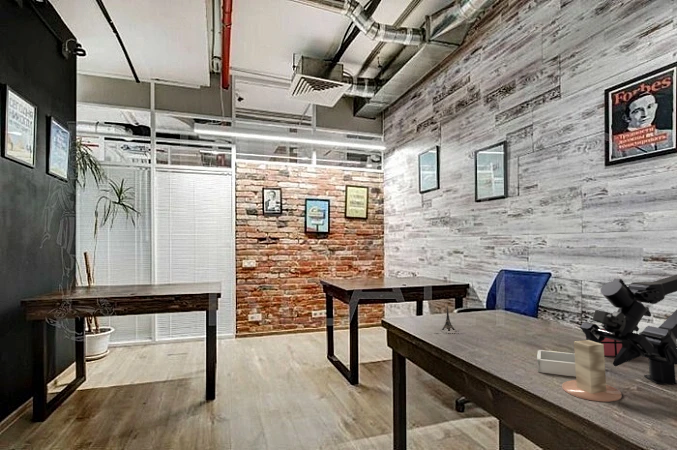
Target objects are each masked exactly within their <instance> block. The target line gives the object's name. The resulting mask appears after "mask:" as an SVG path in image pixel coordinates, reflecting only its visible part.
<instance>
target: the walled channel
mask: <svg viewBox="0 0 677 450" xmlns="http://www.w3.org/2000/svg"><path fill="white" fill-rule="evenodd" d="M536 368H537V373H544V374H551V375H559V376H568V377H575V378H576V368H575V352H573V353H572V352H563V351H556V350H555V351H552V350H543V349H537V356H536Z"/></svg>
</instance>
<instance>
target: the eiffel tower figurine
mask: <svg viewBox="0 0 677 450" xmlns="http://www.w3.org/2000/svg"><path fill="white" fill-rule="evenodd" d="M446 329H448V331H450V330H456V329H455V327H453V325H452V322H451V320H450V313H449V306H448V305H447V306H446V319H445V323H444V324H443V327H442V328H441V330H446Z"/></svg>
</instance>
